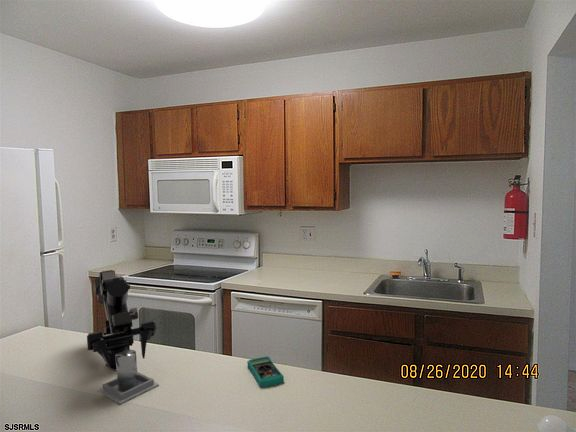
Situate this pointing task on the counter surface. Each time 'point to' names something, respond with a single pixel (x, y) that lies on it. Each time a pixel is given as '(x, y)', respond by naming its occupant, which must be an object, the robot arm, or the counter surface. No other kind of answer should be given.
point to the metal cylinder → (126, 370)
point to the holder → (121, 397)
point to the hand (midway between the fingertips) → (127, 362)
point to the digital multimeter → (265, 371)
